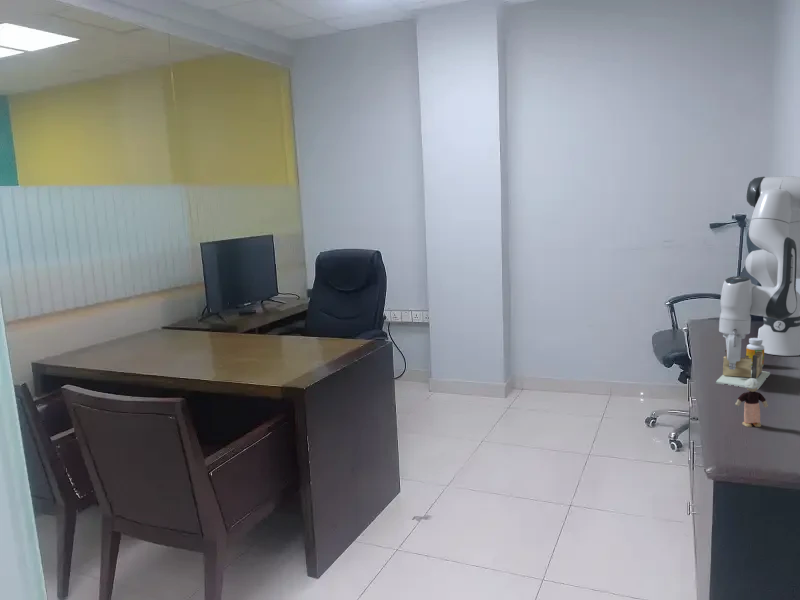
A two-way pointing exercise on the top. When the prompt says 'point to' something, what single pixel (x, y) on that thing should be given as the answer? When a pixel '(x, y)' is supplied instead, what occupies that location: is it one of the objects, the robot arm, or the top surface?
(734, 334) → the robot arm
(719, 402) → the top surface
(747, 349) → the supplement bottle
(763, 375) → the card
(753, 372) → the fence fixed
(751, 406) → the grandmother figurine
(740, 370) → the notched wooden plank
